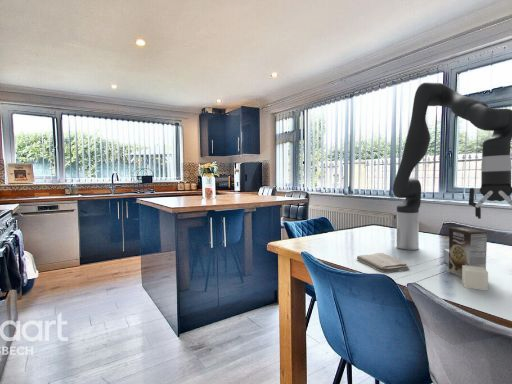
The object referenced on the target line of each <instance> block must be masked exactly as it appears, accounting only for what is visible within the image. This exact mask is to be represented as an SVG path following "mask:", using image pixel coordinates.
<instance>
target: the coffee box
mask: <svg viewBox="0 0 512 384" xmlns="http://www.w3.org/2000/svg"><path fill="white" fill-rule="evenodd" d="M448 229H449V231H448V249H449V264H448V272H449V273H451V274H453V275H456V276H457V277H460V278H462V265H466V266H476V267H484V268H485V270H486V271H487V250H488V249H487V242H488V241H487V240H488V231H484V230H479V229H474V228H471V227H467V226H462V227H461V226H452V227H449V228H448Z"/></svg>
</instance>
